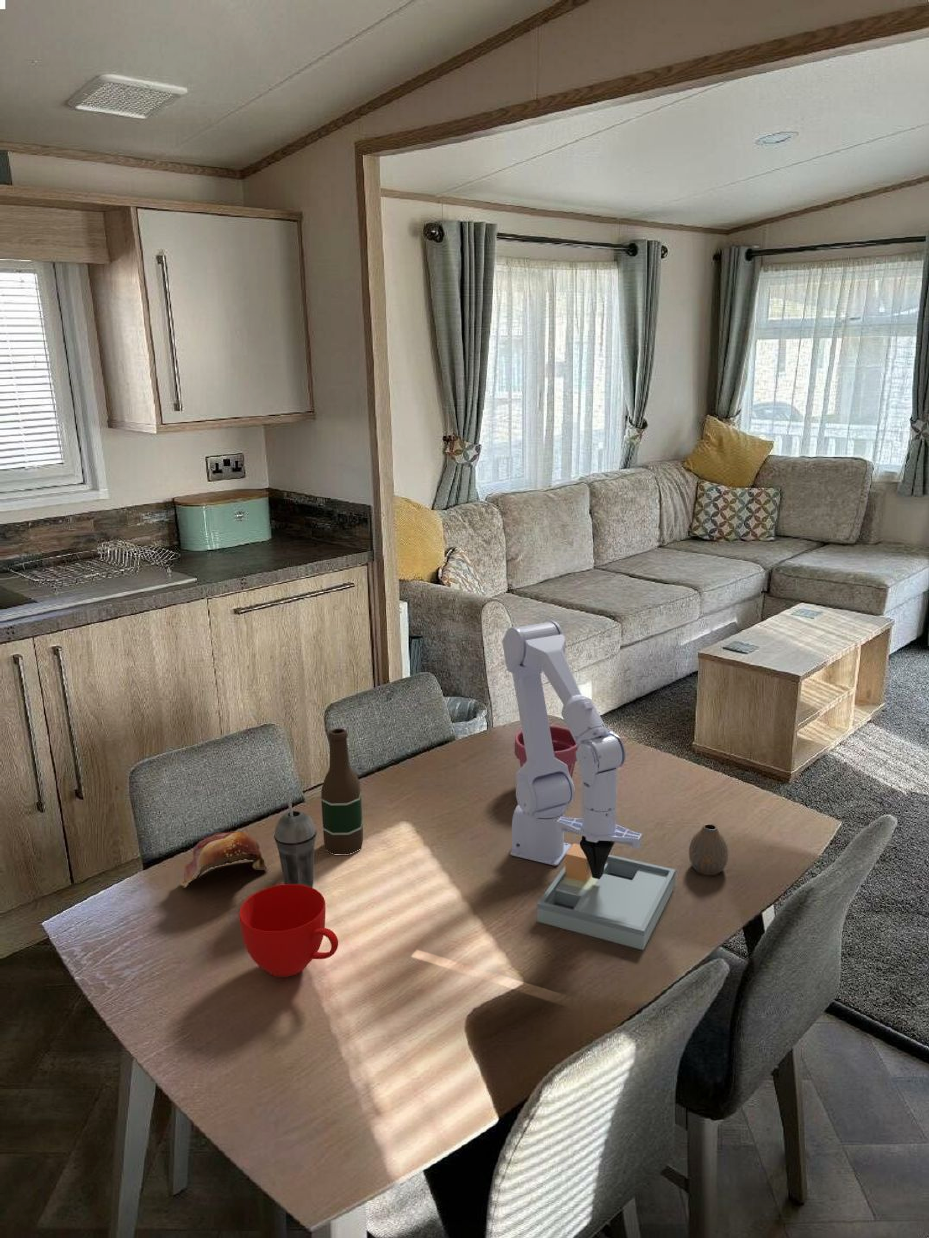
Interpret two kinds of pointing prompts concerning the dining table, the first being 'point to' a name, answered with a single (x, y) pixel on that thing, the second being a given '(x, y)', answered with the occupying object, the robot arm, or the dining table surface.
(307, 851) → the beverage cup
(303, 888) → the ceramic cup
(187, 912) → the dining table surface
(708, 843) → the vase
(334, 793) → the beer bottle
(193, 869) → the brown arched piece
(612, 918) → the box
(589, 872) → the block
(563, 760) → the plant pot
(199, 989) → the dining table surface
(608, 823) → the robot arm
